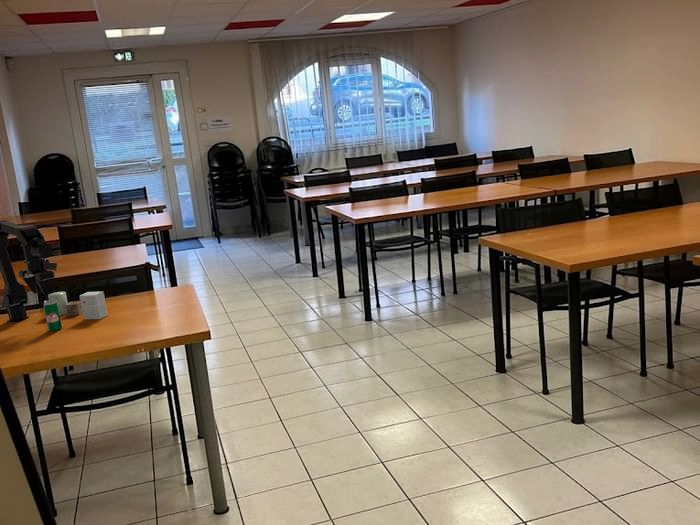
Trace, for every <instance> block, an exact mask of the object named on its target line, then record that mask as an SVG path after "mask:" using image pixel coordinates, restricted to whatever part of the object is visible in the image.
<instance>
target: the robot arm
mask: <svg viewBox="0 0 700 525" xmlns="http://www.w3.org/2000/svg"><path fill="white" fill-rule="evenodd" d="M10 235H11V236H15V237H16V240H17V241H20V242H21V243H20V245H19V246H20V248H21V247H22V249H23V254H24V258H25V259H24V260H23V263H24V264H26V265H25V266H26V268H23V269H20V270H19V272H18V276H19V278H21V280H23V282H24V283H25V284H26V286H28V288H29V289H30V290H31V292H32V293H33V294H38V292H37V291H38V288H37V285H38V287H39V288H40V290H41V292H42V293H43V295H44V297H45V296H48V295H49V286H50V282H51V281H52V280H54V278H55V277H56V275H55V272H54V271H56V272H57V269H58V263H57V262H52V261H51V262H50V260H49V259H48V258H50V257H51V256H53V253H54V252H53V251H54V250H53V247H52V246H51V245H50V244H48V243H47V241H46V240H45V237H44V235H43V234H42V233H41V231H40V230H39V228H38V227H37V226H36V225H33V224H29V225H27V224H26V225H21V224H18V223H16V222H15V223H14V222H11V221H8V220H7V219H3V220H0V274H1V277H2V280H3V283H4V287H3V290H2V292H3V293H2V294H3V298H2V301H1V306H2V308H3V309H5V310H6V312H7V315H8V319H7V320H6V322H11V323H12V322H13V321H18V322H22V321H23V320H22V319H24V320H25V318H26V319H28V318H30V315H28V314H27V309H26V307H25V305H26V304H28V293H27V290H26V287H25V285H24V284H23V283H20V282H19V281H18V279H17V276H16V274H15V270H14V268H13V265H12V261H11V259H10V256H9V255H10V254H9V252H8V249H7V248H8V245H9V239H8V238H9V236H10ZM27 317H28V318H27Z"/></svg>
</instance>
